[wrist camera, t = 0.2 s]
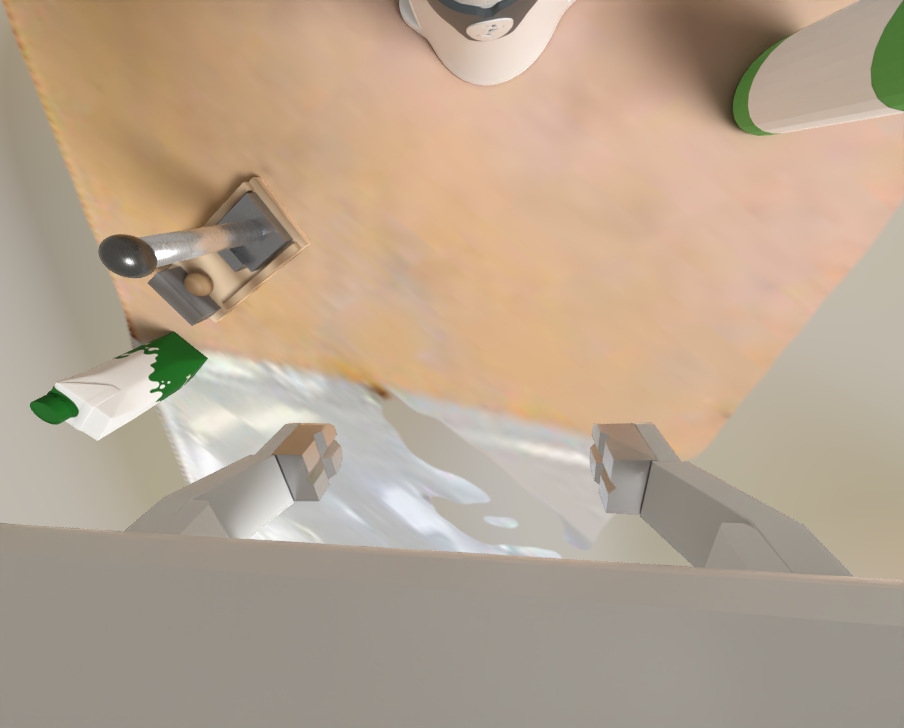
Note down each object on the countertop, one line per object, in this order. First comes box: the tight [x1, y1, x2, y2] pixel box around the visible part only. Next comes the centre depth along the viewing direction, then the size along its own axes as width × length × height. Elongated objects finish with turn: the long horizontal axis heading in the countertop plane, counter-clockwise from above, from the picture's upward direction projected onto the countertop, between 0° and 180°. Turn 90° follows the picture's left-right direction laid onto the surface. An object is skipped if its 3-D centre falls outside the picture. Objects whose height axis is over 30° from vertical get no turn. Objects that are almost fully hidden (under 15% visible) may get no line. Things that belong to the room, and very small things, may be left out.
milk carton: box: [30, 332, 208, 441], centre depth 53 cm, size 9×9×20 cm
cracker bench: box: [148, 177, 312, 326], centre depth 48 cm, size 24×10×6 cm, turn 124°
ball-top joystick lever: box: [99, 193, 293, 278], centre depth 37 cm, size 9×7×21 cm
